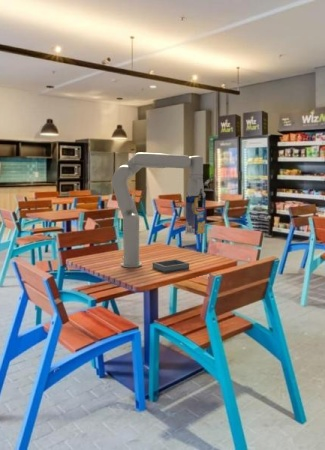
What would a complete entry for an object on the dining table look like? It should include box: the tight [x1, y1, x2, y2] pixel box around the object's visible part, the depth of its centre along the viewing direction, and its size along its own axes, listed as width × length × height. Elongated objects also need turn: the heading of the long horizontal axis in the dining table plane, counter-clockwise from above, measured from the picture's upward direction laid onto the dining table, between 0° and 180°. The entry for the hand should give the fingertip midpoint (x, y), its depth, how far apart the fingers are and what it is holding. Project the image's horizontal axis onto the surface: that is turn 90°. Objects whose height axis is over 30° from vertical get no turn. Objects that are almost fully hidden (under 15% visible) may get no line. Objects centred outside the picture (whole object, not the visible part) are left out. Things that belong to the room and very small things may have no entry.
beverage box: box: [185, 195, 207, 236], centre depth 252 cm, size 7×11×22 cm, turn 143°
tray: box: [152, 259, 190, 274], centre depth 246 cm, size 13×17×4 cm
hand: (195, 206), depth 251 cm, fingers closed on beverage box, 8 cm apart
